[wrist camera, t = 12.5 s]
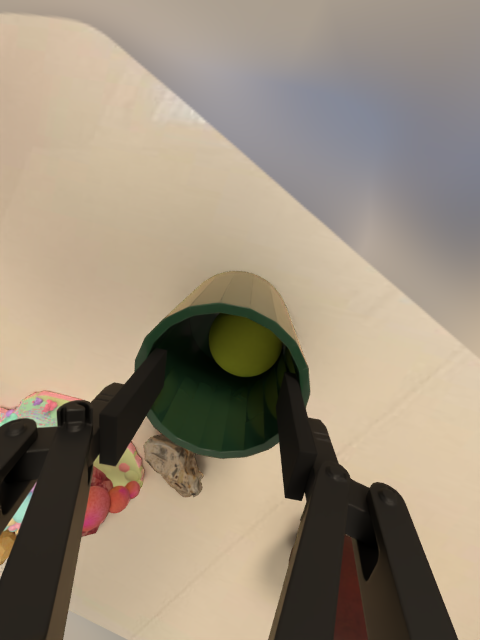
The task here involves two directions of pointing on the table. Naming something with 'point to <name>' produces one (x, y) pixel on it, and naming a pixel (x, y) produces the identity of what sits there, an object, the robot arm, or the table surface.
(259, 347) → the ball
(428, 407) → the table surface
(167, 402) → the tube
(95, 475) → the candy landscape model
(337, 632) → the dark brown round lump
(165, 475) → the rock
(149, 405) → the robot arm
